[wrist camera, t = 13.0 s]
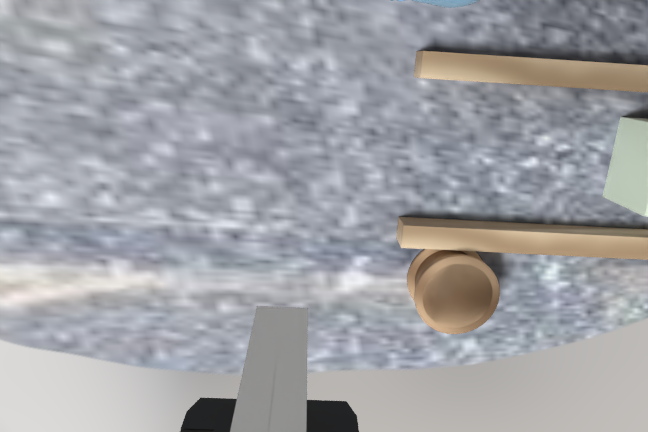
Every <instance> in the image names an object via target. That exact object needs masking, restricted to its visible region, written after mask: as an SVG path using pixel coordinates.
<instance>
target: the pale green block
mask: <svg viewBox="0 0 648 432" xmlns="http://www.w3.org/2000/svg"><path fill="white" fill-rule="evenodd" d="M603 197H604V198H606V199H609V200H611V201H613V202H615V203H617V204H619V205H621V206H623V207H625V208H628V209H630V210H632V211H634V212H636V213H638V214H640V215H642V216H647V217H648V119H646V118H629V117H621V118H620V122H619V127H618V131H617V136H616V140H615V144H614V149H613V153H612V158H611V162H610V167H609V171H608V175H607V180H606V184H605V189H604V193H603Z"/></svg>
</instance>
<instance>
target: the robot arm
mask: <svg viewBox="0 0 648 432" xmlns="http://www.w3.org/2000/svg"><path fill="white" fill-rule="evenodd" d="M391 1H393V0H391ZM397 1H404V0H397ZM413 1H418V2H422V3H427V4H432V5H436V6H441V7H447V8H451V7H462V6H466V5H470V4H473V3H475V2H477V1H479V0H413ZM307 326H308V308H291V307H268V306H257V309H256V313H255V318H254V323H253V327H252V332H251V336H250V341H249V346H248V350H247V355H246V360H245V364H244V369H243V374H242V379H241V383H240V388H239V392H238V397H237V399H220V398H200V399H199V400H198V401H197V402H196V403H195V404H194V405H193V406H192V407H191V408H190V409H189V410H188V411H187V413H186V415H185V419H184V421H183V424H182V427H181V432H359V430H358V422H357V416H356V414H355V413H354V412H353V410H352V409H351V407H350V406H349V404H348V403H347V402H346V401H319V400H307Z"/></svg>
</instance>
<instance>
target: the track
mask: <svg viewBox="0 0 648 432" xmlns="http://www.w3.org/2000/svg"><path fill="white" fill-rule="evenodd" d="M414 77H417V78H428V79H444V80H460V81H476V82H492V83H508V84H524V85H540V86H556V87H572V88H588V89H604V90H620V91H636V92H648V65H634V64H619V63H603V62H588V61H572V60H557V59H542V58H526V57H511V56H495V55H480V54H464V53H449V52H434V51H417V54H416V63H415V72H414ZM396 238H397V240H398V242H399V244H400V246H401V248H417V249H438V250H458V251H479V252H500V253H521V254H541V255H562V256H583V257H604V258H625V259H645V260H648V229H631V228H611V227H592V226H572V225H552V224H533V223H513V222H493V221H473V220H454V219H434V218H414V217H399V219H398V228H397V237H396Z"/></svg>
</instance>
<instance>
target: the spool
mask: <svg viewBox="0 0 648 432" xmlns="http://www.w3.org/2000/svg"><path fill="white" fill-rule="evenodd" d="M407 285H408V289H409V292H410V294H411V296H412V298H413V300H414V301H415V305H416V308H417V310H418V313H419V315H420V316H421V318H422V319H423V321H424V322H425V323H426V324H427V325H428V326H430V327H431V328H433V329H435V330H437V331H439V332H442V333H447V334H460V333H465V332H469V331H472V330H474V329H476V328H478V327H479V326H481V325H482V324H484V323H485V322H486V321H487V320H488V319H489V318H490V317H491V315H492V314H493V313H494V311H495V309H496V307H497V304H498V301H499V296H500V288H499V283H498V280H497V278H496V276H495V274H494V273H493V271H492V270H491V269H490V268H489V267H488V266H487V265H486V264H485V263H484V262H483V261H482V259H481V258H480V256H479V255H478V254H477V253H476V252H475V251H458V250H438V249H423V250H422V251H421V252H420V253H419V254H418V255H417V256H416V257H415V258H414V260H413V261H412V263H411V265H410V267H409V270H408V275H407Z"/></svg>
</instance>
